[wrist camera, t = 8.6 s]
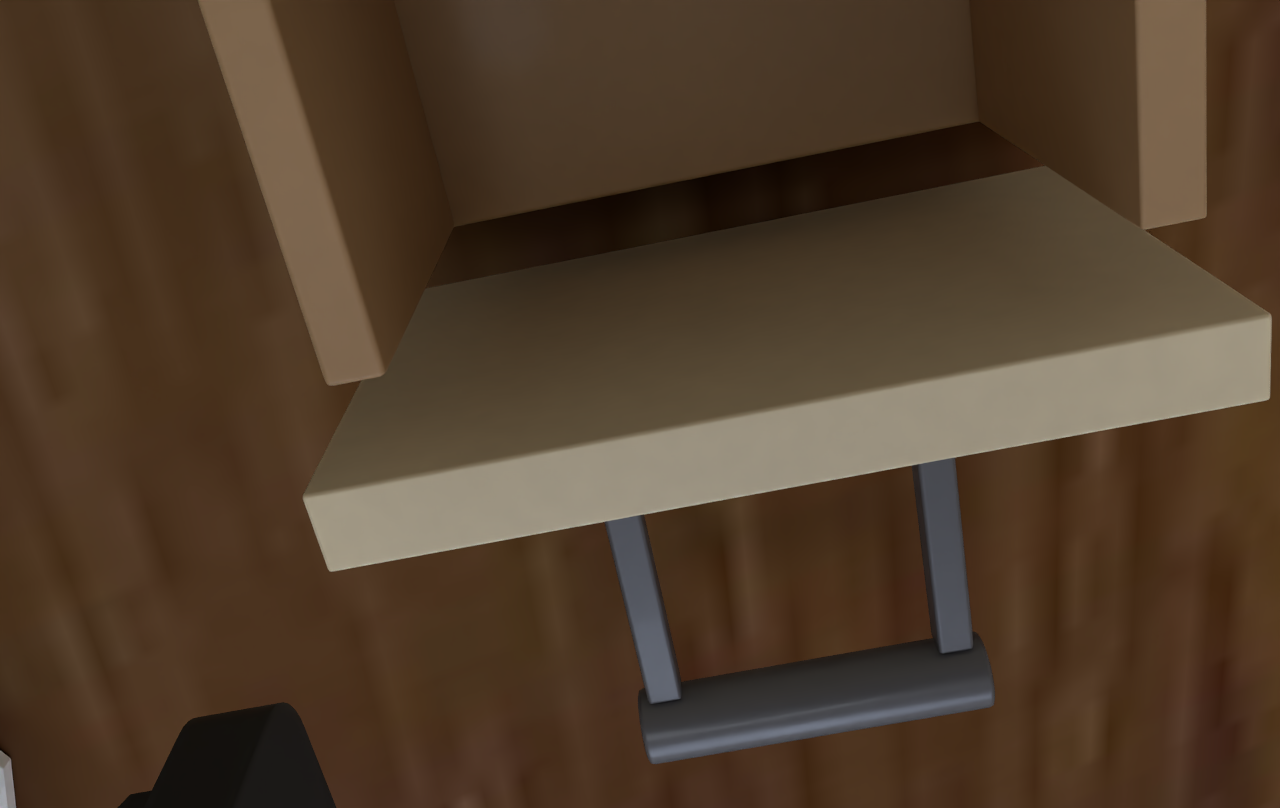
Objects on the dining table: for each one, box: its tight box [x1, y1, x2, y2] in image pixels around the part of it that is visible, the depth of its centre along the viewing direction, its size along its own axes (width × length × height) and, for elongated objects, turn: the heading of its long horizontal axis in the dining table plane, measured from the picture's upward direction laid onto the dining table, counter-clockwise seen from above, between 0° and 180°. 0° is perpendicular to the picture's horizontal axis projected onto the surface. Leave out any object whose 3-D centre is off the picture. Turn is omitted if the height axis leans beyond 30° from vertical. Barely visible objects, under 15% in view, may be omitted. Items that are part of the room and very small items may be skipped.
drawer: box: [198, 0, 1272, 764], centre depth 18 cm, size 21×12×8 cm, turn 11°
